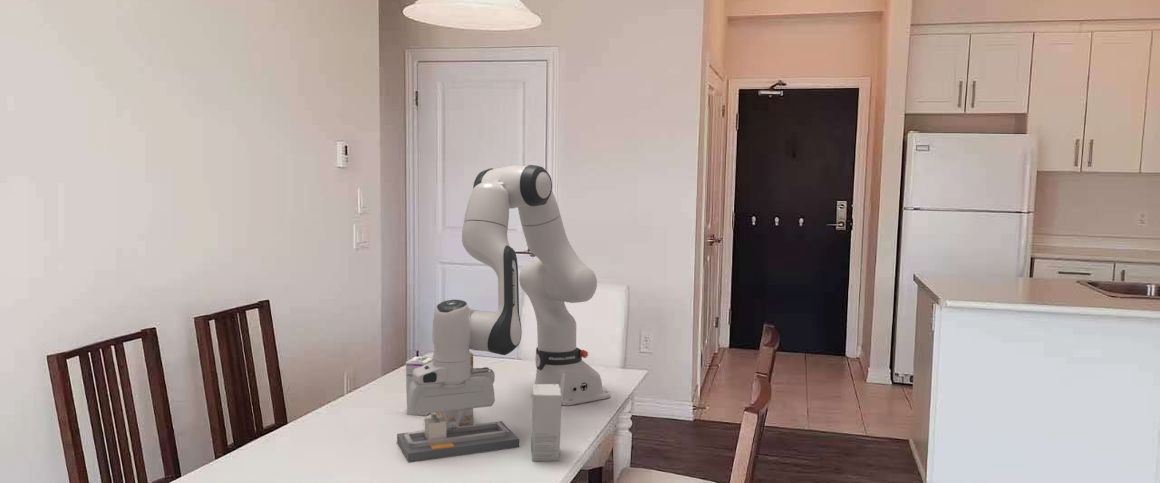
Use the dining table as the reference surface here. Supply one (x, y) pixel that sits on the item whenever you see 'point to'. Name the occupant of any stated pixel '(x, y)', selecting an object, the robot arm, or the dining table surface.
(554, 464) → the dining table surface
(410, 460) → the board
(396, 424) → the dining table surface
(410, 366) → the syrup box
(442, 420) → the fader tab
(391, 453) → the dining table surface
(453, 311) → the robot arm
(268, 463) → the dining table surface
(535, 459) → the skincare box
